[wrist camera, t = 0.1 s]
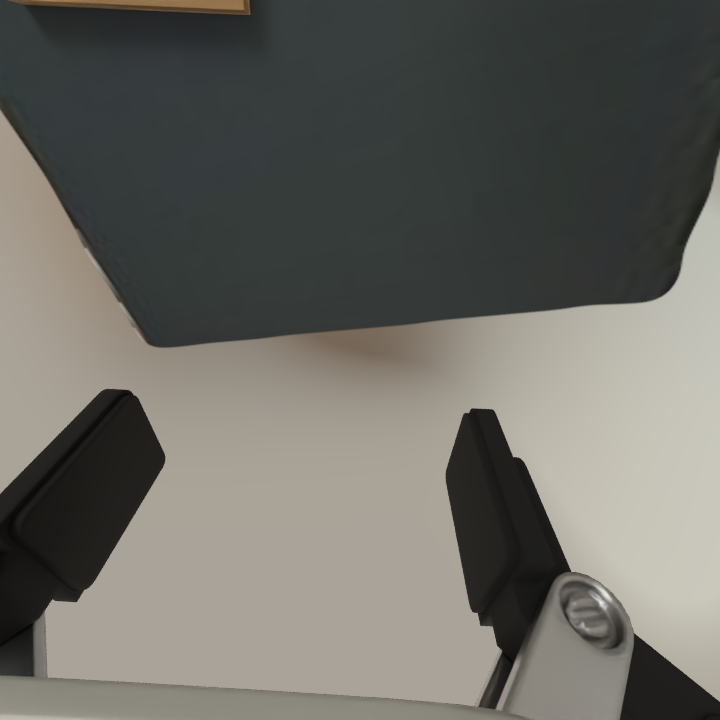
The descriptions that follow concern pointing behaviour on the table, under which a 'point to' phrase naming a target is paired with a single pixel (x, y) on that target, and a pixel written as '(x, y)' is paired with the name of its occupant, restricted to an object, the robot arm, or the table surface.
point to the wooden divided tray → (153, 5)
